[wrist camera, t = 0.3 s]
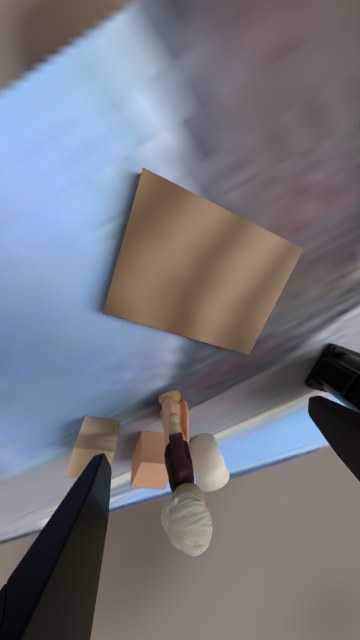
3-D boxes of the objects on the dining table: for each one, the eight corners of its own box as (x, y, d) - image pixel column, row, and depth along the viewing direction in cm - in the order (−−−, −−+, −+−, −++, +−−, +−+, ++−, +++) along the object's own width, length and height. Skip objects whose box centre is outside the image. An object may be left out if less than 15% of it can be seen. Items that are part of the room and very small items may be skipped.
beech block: (120, 420, 23) (115, 452, 20) (111, 444, 24) (105, 479, 21) (85, 415, 22) (73, 447, 19) (77, 440, 23) (64, 476, 20)
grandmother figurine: (191, 420, 25) (231, 568, 13) (162, 429, 25) (177, 589, 13) (179, 371, 22) (216, 504, 11) (146, 380, 22) (148, 527, 10)
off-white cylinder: (221, 435, 27) (234, 469, 23) (209, 456, 28) (221, 492, 24) (195, 431, 26) (204, 466, 22) (184, 453, 27) (191, 490, 23)
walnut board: (294, 249, 20) (303, 249, 19) (243, 350, 23) (248, 355, 22) (143, 173, 16) (142, 167, 15) (105, 309, 19) (102, 313, 18)
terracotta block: (171, 434, 26) (176, 465, 22) (161, 456, 27) (164, 489, 23) (141, 429, 24) (141, 461, 21) (132, 453, 26) (130, 487, 22)
